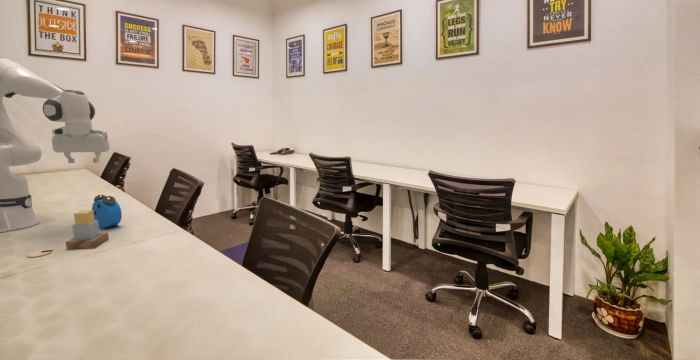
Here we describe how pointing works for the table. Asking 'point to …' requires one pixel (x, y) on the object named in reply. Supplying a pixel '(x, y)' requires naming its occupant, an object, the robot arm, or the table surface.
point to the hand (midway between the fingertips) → (84, 162)
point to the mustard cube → (84, 217)
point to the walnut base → (87, 242)
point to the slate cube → (86, 231)
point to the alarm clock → (106, 211)
